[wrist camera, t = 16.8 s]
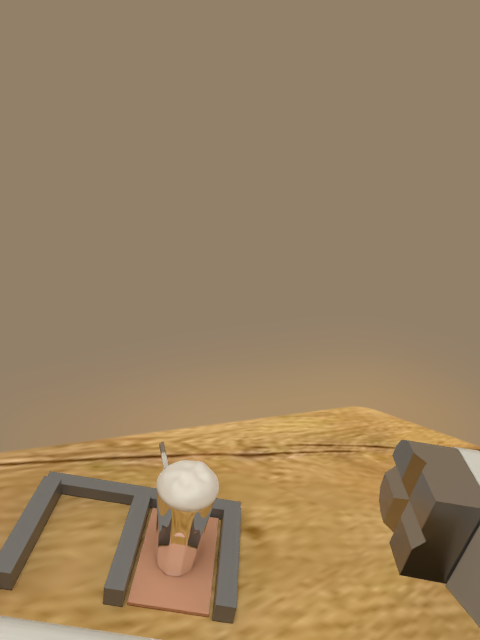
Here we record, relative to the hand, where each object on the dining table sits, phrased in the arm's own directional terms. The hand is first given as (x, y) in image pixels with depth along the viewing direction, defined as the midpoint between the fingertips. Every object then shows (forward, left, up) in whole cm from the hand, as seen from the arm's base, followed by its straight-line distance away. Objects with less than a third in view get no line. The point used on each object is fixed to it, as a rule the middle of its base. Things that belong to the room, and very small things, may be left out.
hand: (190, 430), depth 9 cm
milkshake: (+1, -18, -28) cm, 33 cm away
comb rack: (+4, -18, -28) cm, 33 cm away
